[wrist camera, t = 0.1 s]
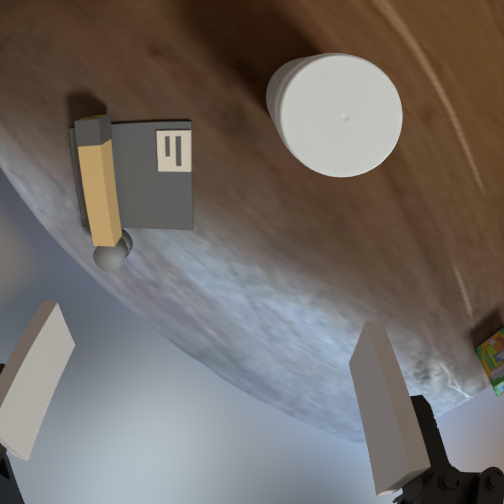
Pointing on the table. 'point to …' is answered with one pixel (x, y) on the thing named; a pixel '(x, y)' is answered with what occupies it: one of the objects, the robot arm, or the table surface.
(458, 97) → the table surface
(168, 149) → the label
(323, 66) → the supplement tub
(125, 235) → the pivot post
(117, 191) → the mat
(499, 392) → the chalk box
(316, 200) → the table surface
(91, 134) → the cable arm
